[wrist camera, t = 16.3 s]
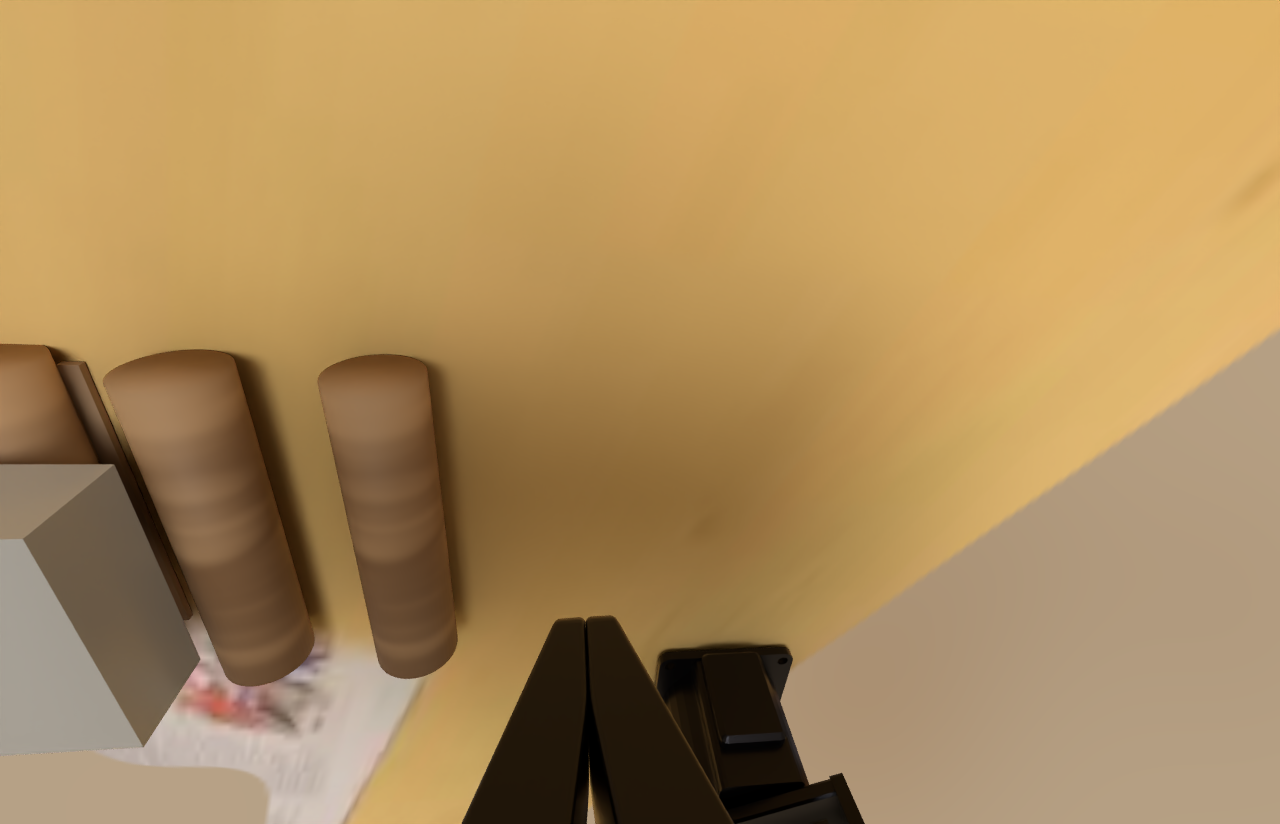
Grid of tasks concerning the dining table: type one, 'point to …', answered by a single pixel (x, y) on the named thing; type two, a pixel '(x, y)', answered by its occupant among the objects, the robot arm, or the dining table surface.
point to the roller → (38, 411)
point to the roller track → (247, 512)
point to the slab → (82, 615)
